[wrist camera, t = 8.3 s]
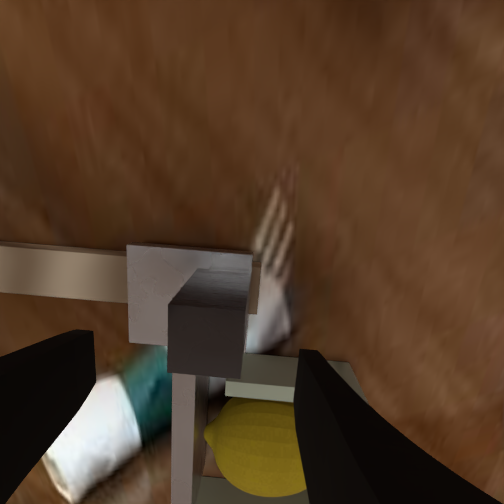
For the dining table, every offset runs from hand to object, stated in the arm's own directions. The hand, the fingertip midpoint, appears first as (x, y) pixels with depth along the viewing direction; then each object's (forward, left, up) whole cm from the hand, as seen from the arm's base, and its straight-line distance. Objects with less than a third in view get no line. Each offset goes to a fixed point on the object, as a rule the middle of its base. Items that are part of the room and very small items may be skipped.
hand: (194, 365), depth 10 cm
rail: (-7, 0, -9) cm, 11 cm away
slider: (-2, -6, -8) cm, 10 cm away
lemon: (-1, -9, -6) cm, 11 cm away
